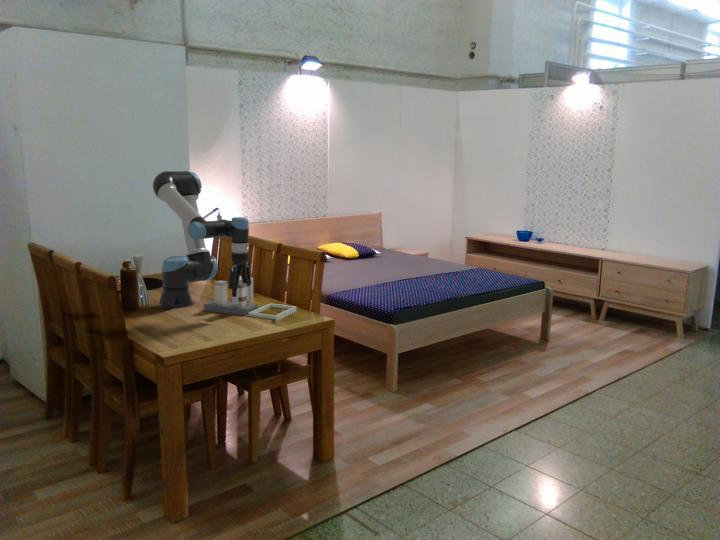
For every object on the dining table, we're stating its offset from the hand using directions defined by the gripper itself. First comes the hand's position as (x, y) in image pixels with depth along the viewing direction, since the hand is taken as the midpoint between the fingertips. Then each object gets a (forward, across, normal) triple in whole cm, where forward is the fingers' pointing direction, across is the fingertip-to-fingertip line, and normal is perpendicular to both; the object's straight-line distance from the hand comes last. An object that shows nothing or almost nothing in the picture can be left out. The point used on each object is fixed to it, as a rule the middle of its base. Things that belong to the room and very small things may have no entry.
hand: (240, 301), depth 276 cm
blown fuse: (+5, 0, 0) cm, 5 cm away
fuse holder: (+6, 0, +5) cm, 8 cm away
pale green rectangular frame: (+6, +5, -14) cm, 16 cm away
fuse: (+5, 0, +10) cm, 11 cm away
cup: (+6, +21, +10) cm, 24 cm away
